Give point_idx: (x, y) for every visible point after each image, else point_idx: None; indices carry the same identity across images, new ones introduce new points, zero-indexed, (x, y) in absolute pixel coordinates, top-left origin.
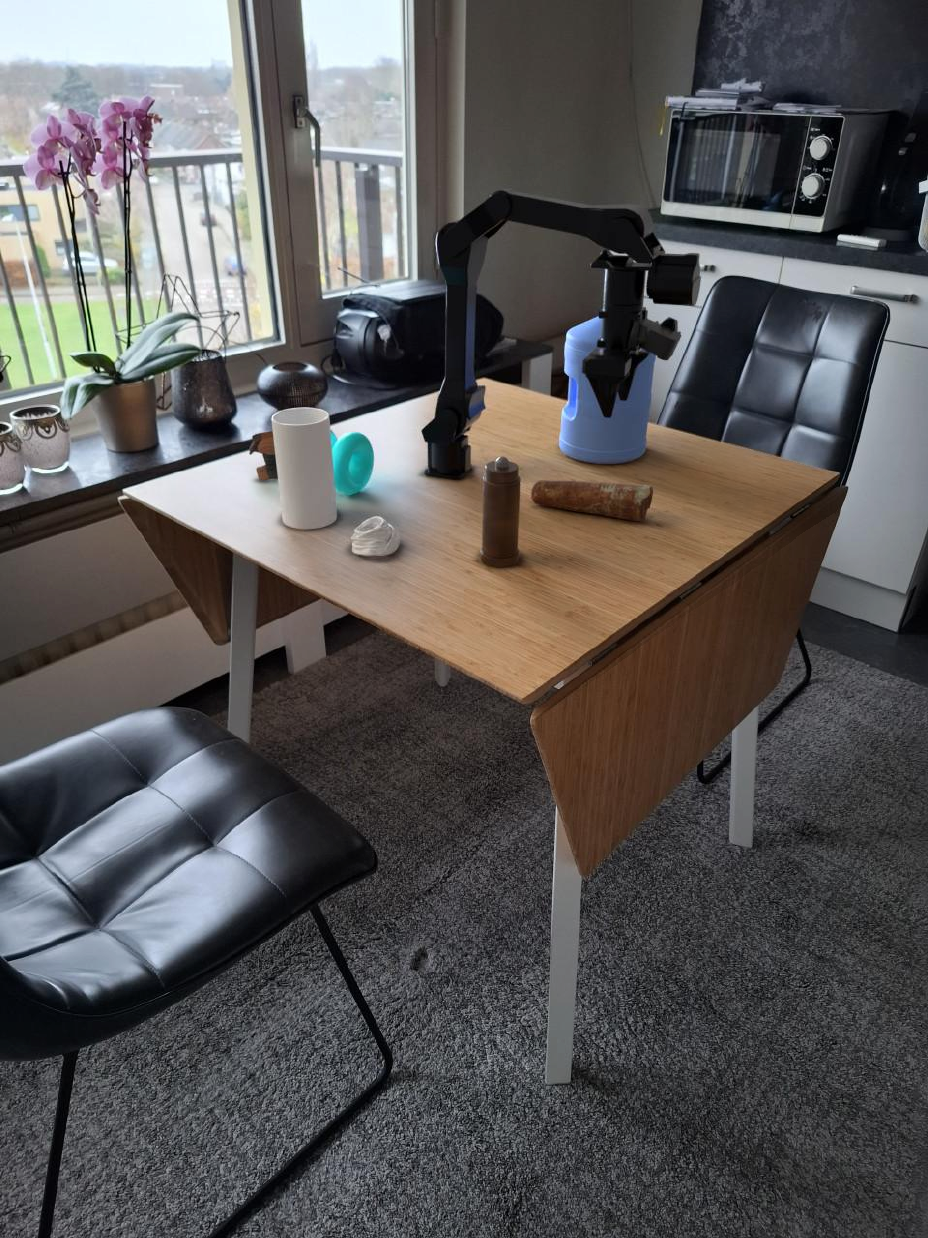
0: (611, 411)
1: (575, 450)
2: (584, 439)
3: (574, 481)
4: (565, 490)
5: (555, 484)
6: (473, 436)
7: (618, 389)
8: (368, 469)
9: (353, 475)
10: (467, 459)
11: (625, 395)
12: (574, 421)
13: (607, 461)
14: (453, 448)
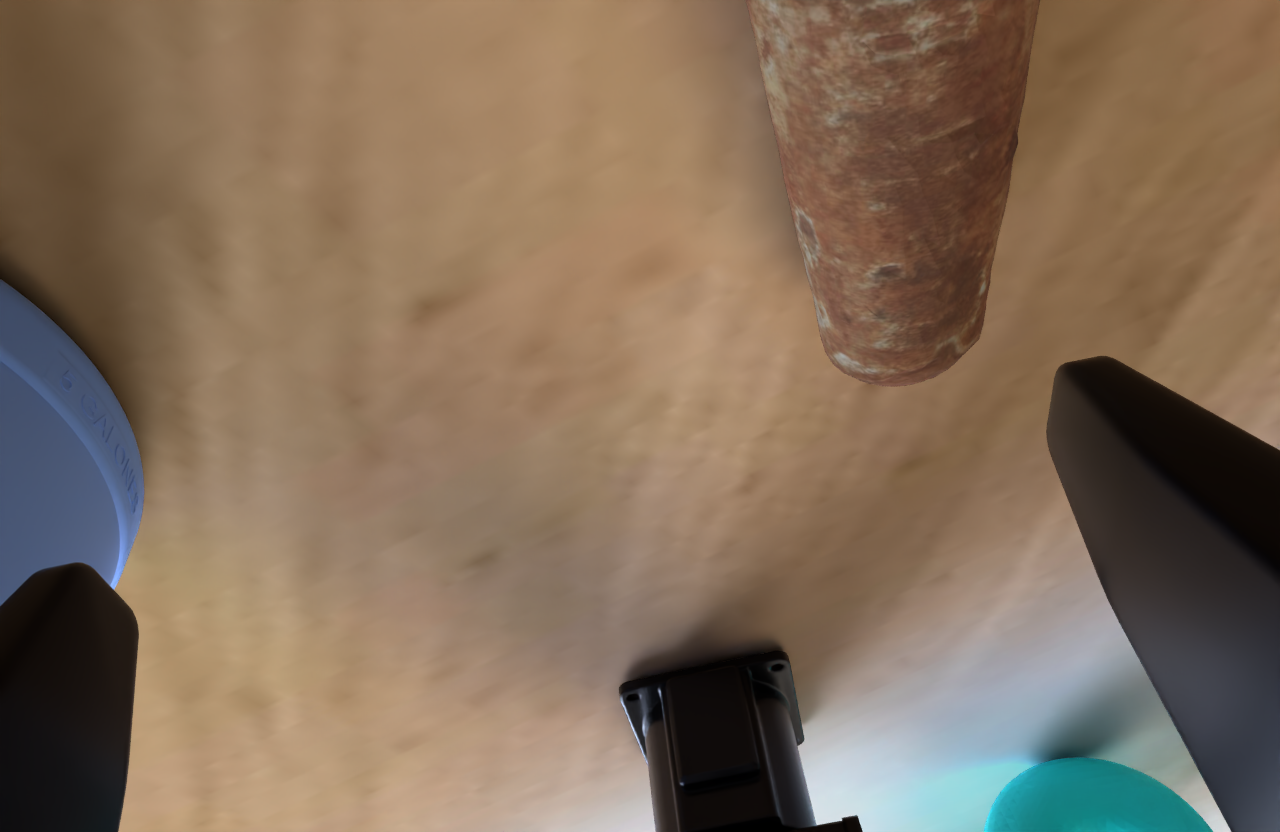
0: (1208, 412)
1: (130, 496)
2: (79, 520)
3: (897, 189)
4: (998, 177)
5: (956, 273)
6: (298, 822)
7: (107, 797)
8: (1041, 828)
9: (1099, 824)
10: (719, 719)
11: (68, 643)
12: None
13: (6, 289)
14: (788, 795)
